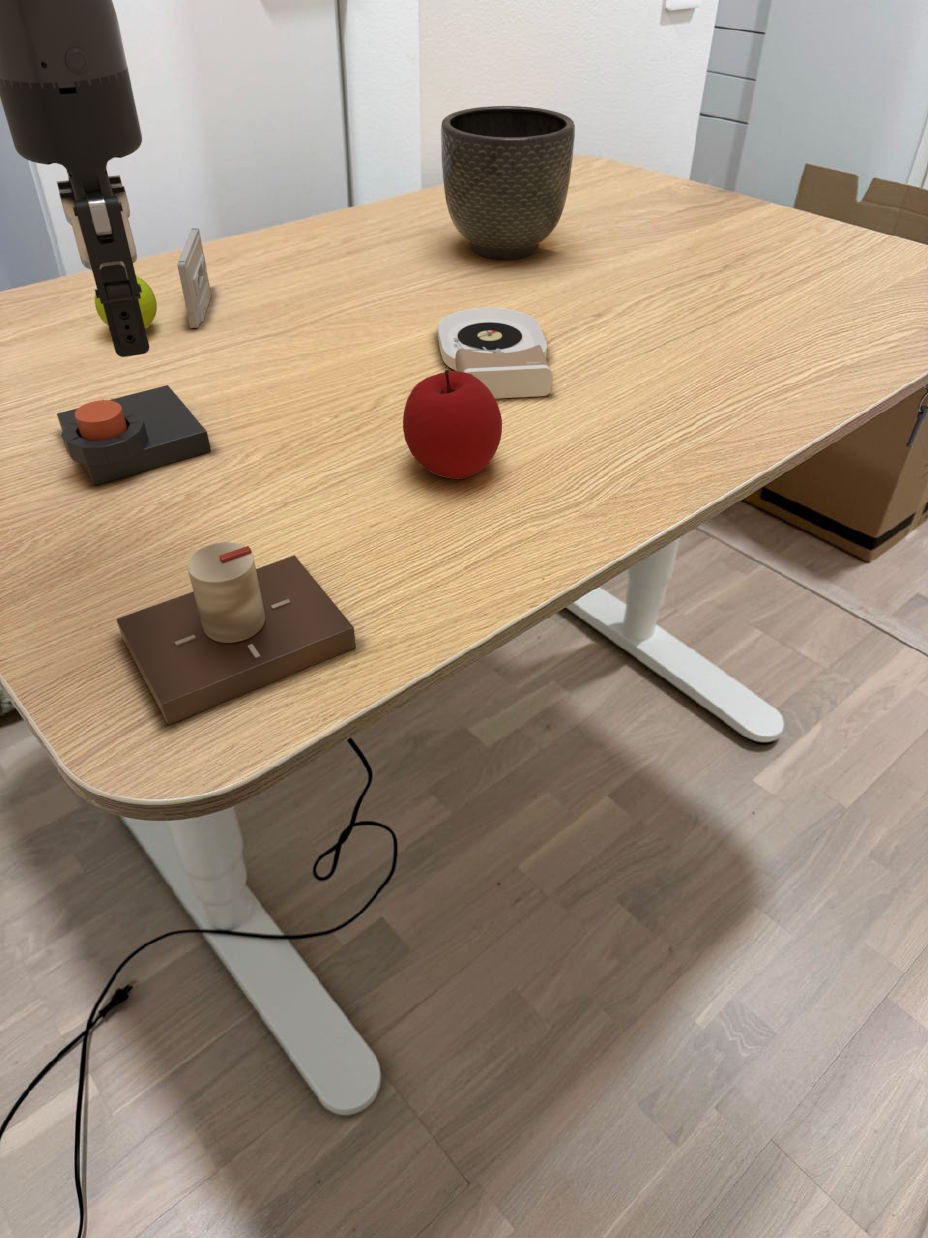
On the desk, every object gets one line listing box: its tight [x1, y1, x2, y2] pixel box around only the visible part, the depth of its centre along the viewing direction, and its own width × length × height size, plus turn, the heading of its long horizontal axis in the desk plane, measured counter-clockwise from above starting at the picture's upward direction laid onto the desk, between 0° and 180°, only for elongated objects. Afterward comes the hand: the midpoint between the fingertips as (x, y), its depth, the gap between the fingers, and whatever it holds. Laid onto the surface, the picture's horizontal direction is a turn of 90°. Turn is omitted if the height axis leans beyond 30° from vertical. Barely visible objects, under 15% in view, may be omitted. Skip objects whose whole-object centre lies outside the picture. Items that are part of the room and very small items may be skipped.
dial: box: [186, 541, 265, 643], centre depth 63 cm, size 4×4×6 cm
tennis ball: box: [94, 275, 158, 330], centre depth 104 cm, size 7×7×7 cm
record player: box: [437, 306, 554, 400], centre depth 100 cm, size 12×3×20 cm
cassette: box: [176, 227, 212, 329], centre depth 108 cm, size 12×2×8 cm, turn 5°
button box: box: [56, 384, 212, 486], centre depth 85 cm, size 12×12×4 cm
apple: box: [402, 369, 503, 480], centre depth 81 cm, size 9×9×10 cm
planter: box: [440, 105, 576, 261], centre depth 121 cm, size 17×17×16 cm
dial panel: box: [115, 554, 357, 726], centre depth 65 cm, size 14×10×2 cm
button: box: [75, 399, 127, 441], centre depth 81 cm, size 4×4×2 cm
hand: (126, 328), depth 64 cm, fingers open, 8 cm apart
